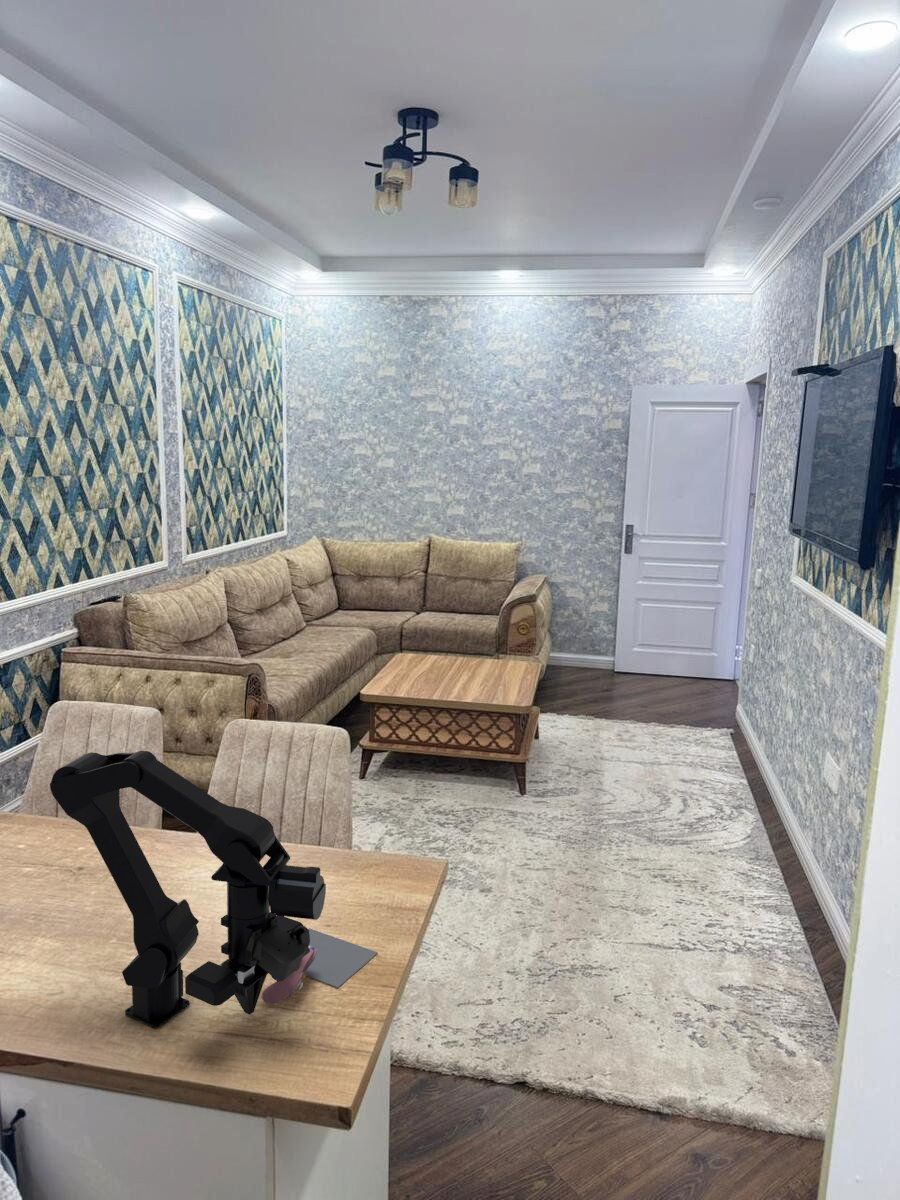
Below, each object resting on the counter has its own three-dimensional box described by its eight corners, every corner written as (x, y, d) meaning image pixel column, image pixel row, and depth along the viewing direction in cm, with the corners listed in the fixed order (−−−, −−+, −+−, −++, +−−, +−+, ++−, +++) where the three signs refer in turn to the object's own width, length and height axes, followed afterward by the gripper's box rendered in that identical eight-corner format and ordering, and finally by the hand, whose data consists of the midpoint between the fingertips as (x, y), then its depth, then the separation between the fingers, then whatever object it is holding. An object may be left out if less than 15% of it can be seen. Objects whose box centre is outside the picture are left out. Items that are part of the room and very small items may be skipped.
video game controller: (283, 1018, 123) (304, 982, 121) (257, 1001, 123) (277, 965, 122) (308, 977, 132) (327, 944, 131) (283, 961, 133) (302, 928, 131)
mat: (337, 988, 128) (337, 987, 128) (266, 960, 134) (266, 959, 134) (377, 953, 137) (378, 952, 137) (309, 929, 144) (309, 928, 144)
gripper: (246, 959, 105) (247, 1073, 107) (336, 896, 121) (335, 996, 123) (181, 934, 110) (183, 1043, 112) (275, 876, 126) (275, 972, 129)
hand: (249, 1012), depth 119 cm, fingers closed
